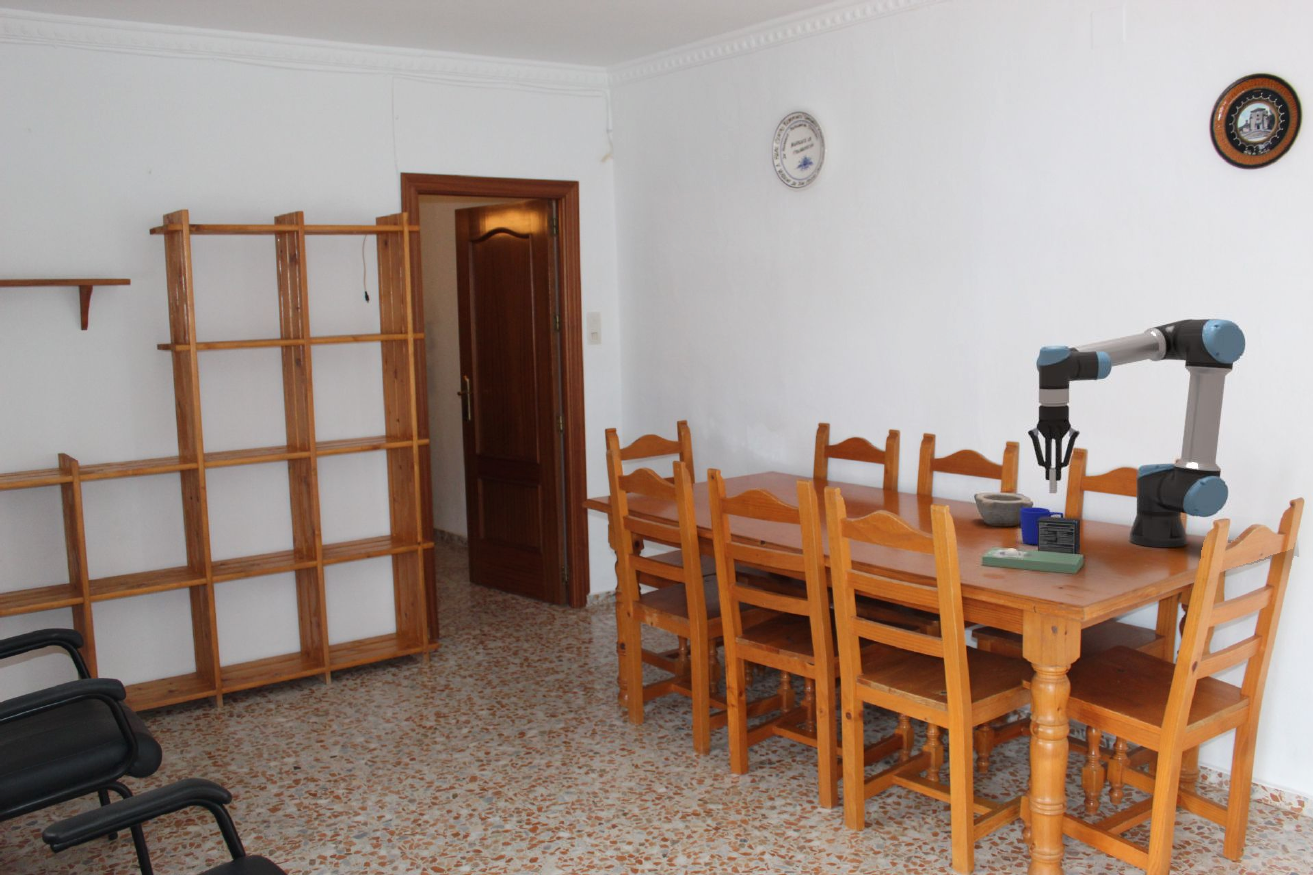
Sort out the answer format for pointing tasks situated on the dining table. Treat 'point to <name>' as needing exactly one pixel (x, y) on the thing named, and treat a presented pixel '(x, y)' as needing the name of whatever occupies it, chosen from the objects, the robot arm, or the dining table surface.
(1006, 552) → the ball
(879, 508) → the dining table surface
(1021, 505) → the mortar
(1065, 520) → the small box
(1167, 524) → the robot arm
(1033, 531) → the mug
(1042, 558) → the green
